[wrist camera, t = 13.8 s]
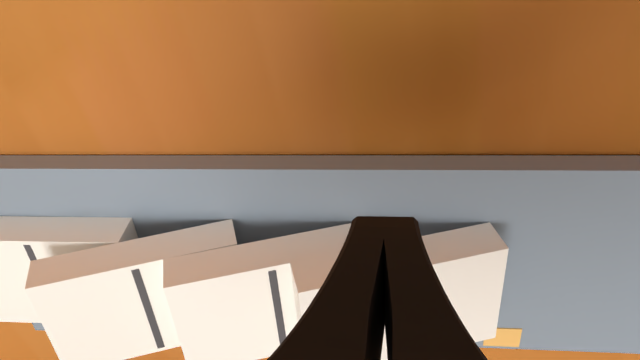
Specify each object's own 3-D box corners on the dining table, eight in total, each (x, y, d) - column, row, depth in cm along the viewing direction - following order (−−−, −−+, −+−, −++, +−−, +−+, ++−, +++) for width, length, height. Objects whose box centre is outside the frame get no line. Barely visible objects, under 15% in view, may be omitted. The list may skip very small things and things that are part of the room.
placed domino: (509, 248, 23) (298, 293, 22) (495, 337, 26) (309, 381, 24) (489, 221, 24) (290, 262, 23) (478, 309, 27) (301, 349, 26)
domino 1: (237, 243, 24) (24, 289, 23) (253, 329, 27) (66, 373, 26) (231, 218, 25) (30, 260, 24) (248, 302, 28) (69, 344, 27)
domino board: (721, 155, 22) (734, 172, 21) (654, 336, 28) (661, 355, 27) (-33, 155, 26) (-48, 169, 25) (44, 315, 32) (34, 331, 31)
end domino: (117, 242, 25) (-65, 240, 26) (146, 326, 27) (-18, 321, 28) (131, 217, 26) (-42, 215, 27) (158, 299, 29) (0, 295, 30)
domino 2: (374, 246, 23) (163, 288, 22) (376, 333, 26) (189, 374, 25) (363, 220, 25) (163, 258, 24) (366, 306, 28) (188, 343, 27)
